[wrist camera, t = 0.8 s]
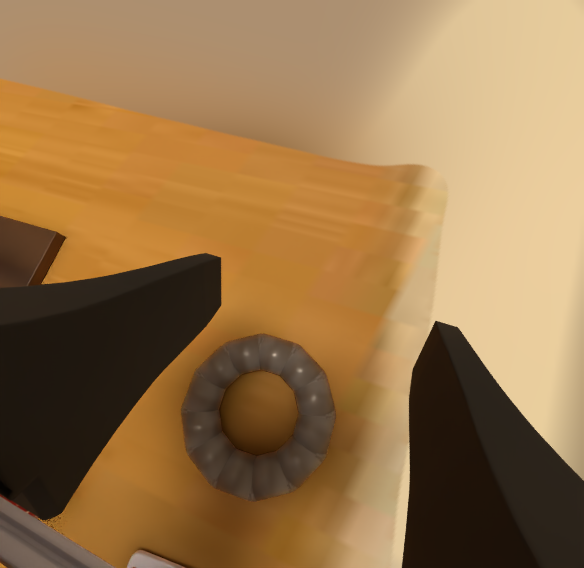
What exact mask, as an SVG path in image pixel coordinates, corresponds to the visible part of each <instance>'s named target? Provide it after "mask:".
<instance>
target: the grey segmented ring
mask: <svg viewBox="0 0 584 568" xmlns="http://www.w3.org/2000/svg"><path fill="white" fill-rule="evenodd" d="M257 370H264V371H267V372H270V373H273V374H277V375H280V376H281V377H282V378H283V380H284V381H285V382H286V383H287V384H288V385H289V386H290V387H291V389H292V390H293V391H294V394H295V398H296V403H297V407H298V412H299V414H298V418H297V421H296V425H295V429H294V432H293V435H292V436H291V437H290V438H289V439H288V440H287V441H286V442H285V443H284V444H283V445H282V446H281V447H280V448H279V449H278V450H277V451H274V452H270V453H266V454H262V455H258V456H255V455H252V454H250V453H247V452H244V451H241V450H238V449H236V448H235V447H234V445H233V444H232V443H231V442H230V440H229V439H228V438H227V437H226V435H225V434H224V433H223V432H222V425H221V419H220V412H219V408H220V405H221V402H222V399H223V396H224V393H225V390H226V388H227V387H228V386H229V385H230V384H231V383H233V382H234V381H235V380H236V379H237V378H238V377H239V376H240V375H241V374H244V373H248V372H252V371H257ZM181 416H182V424H183V432H184V440H185V448H186V452H187V454H188V456H189V457H190V459H191V460H192V461H193V463H194V464H195V465H196V467H197V468H198V470H199V471H200V472H201V474H202V475H203V476H204V478H205V479H206V480H207V482H208V483H209V484H210V485H211V486H212V487H213V488H215V489H217V490H220V491H222V492H225V493H228V494H231V495H233V496H236V497H239V498H241V499H244V500H247V501H251V502H256V501H260V500H264V499H268V498H272V497H276V496H280V495H284V494H287V493H291V492H293V491H295V490H296V489H298V488H299V487H300V486H301V485H302V483H303V482H304V481H305V480H306V479H307V478H308V477H309V476H310V475H311V474H312V473H313V472H314V471H315V470H316V469H317V467H318V466H319V465H320V464H321V463H322V462H323V461H324V459H325V458H326V455H327V452H328V448H329V444H330V440H331V436H332V432H333V427H334V423H335V419H336V411H335V406H334V403H333V399H332V395H331V391H330V387H329V383H328V379H327V376H326V374H325V372H324V371H323V369H322V368H321V367H320V366H319V365H318V364H317V363H316V362H315V361H314V360H313V359H312V358H311V357H310V356H309V354H308V353H307V352H306V351H305V350H304V349H303V348H302V347H301V346H300V345H298V344H296V343H293V342H290V341H287V340H284V339H280V338H277V337H274V336H270V335H267V334H257V335H253V336H249V337H244V338H240V339H236V340H232V341H228V342H226V343H224V344H223V345H222V346H220V347H219V348H218V349H217V350H216V351H215V352H214V353H213V354H212V355H211V356H209V357H208V358H207V359H206V360H205V361H204V362H203V363H202V364H201V365H200V366H199V367H198V368H197V369H196V370H195V372H194V375H193V377H192V380H191V383H190V385H189V388H188V391H187V394H186V396H185V399H184V402H183V404H182V408H181Z"/></svg>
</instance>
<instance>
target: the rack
mask: <svg viewBox="0 0 584 568" xmlns="http://www.w3.org/2000/svg"><path fill="white" fill-rule="evenodd" d="M64 239H65V237H64V236H63V235H61V234H59V233H57V232H55V231H51V230H48V229H44V228H41V227H37V226H34V225H30V224H27V223H23V222H20V221H16V220H13V219H9V218H6V217H2V216H0V288H5V287H22V286H34V285H40V284H41V282H42V280H43V278H44V276H45V274H46V273H47V271H48V269H49V267H50V265H51V263H52V261H53V259H54V258H55V256H56V254H57V252H58V250H59V248H60V246H61V245H62V243H63V241H64Z"/></svg>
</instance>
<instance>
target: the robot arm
mask: <svg viewBox="0 0 584 568" xmlns="http://www.w3.org/2000/svg"><path fill="white" fill-rule="evenodd" d="M220 306H221V258H220V257H217V256H214V255H210V254H207V253H204V254H198V255H193V256H188V257H184V258H180V259H176V260H172V261H168V262H164V263H161V264H157V265H153V266H149V267H145V268H140V269H136V270H132V271H127V272H123V273H118V274H114V275H109V276H104V277H98V278H92V279H85V280H79V281H72V282H64V283H54V284H44V285H34V286H22V287H5V288H0V495H2V496H3V497H5V498H6V499H8V500H10V501H13V502H14V503H16V504H18V505H19V506H21V507H22V508H24V509H26V510H27V511H29V512H31V513H32V514H34V515H35V516H37V517H39V518H40V519H42V520H48V519H50V518H53V517H55V516H57V515H59V514H61V513H62V512H63V510H64V508H65V507H66V505H67V503H68V502H69V500H70V499H71V497H72V495H73V494H74V492H75V491H76V489H77V488H78V486H79V485H80V483H81V481H82V480H83V478H84V477H85V475H86V474H87V472H88V471H89V469H90V467H91V466H92V464H93V463H94V461H95V460H96V459H97V457H98V456H99V454H100V453H101V451H102V450H103V448H104V447H105V446H106V444H107V443H108V441H109V440H110V438H111V437H112V435H113V434H114V433H115V431H116V430H117V428H118V427H119V426H120V424H121V423H122V422H123V420H124V419H125V418H126V416H127V415H128V414H129V412H130V411H131V410H132V408H133V407H134V406H135V404H136V403H137V402H138V401H139V399H140V398H141V397H142V395H143V394H144V393H145V392H146V390H147V389H148V388H149V387H150V385H151V384H152V383H153V382H154V380H155V379H156V378H157V377H158V376H159V375H160V374H161V373H162V371H163V370H164V369H165V368H166V367H167V366H168V365H169V364H170V363H171V362H172V361H173V360H174V359H175V358H176V357H177V356H178V355H179V354H180V353H181V352H182V351H183V350H184V349H185V348H186V347H187V346H188V345H189V344H190V343H191V342H192V341H193V340H194V338H195V337H196V336H197V335H198V334H199V333H200V332H201V331H202V330H203V329H204V328H205V327H206V326H207V324H208V323H209V322H210V320H211V319H212V318H213V316H214V315H215V313H216V312H217V310H218V309H219V308H220ZM409 443H410V487H409V501H408V511H407V523H406V533H405V543H404V552H403V562H402V568H584V481H583V480H582V479H581V478H580V477H579V476H578V475H577V474H576V473H575V472H574V471H573V470H572V469H571V468H570V467H569V466H568V464H567V463H565V461H564V460H563V459H562V458H561V457H560V456H559V455H558V454H557V453H556V452H555V451H554V449H553V448H552V447H551V446H550V445H549V444H548V443H547V442H546V441H545V440H544V439H543V438H542V437H541V435H540V434H539V433H538V432H537V431H536V430H535V429H534V428H533V427H532V425H531V424H530V423H529V422H528V421H527V419H526V418H525V417H524V416H523V415H522V414H521V412H520V411H519V410H518V408H517V407H516V406H515V405H514V404H513V403H512V401H511V400H510V399H509V397H508V396H507V395H506V394H505V392H504V391H503V390H502V389H501V387H500V386H499V384H498V383H497V382H496V380H495V379H494V378H493V376H492V375H491V374H490V372H489V371H488V370H487V368H486V367H485V365H484V364H483V363H482V361H481V360H480V358H479V357H478V355H477V354H476V353H475V351H474V350H473V348H472V347H471V345H470V344H469V342H468V341H467V339H466V338H465V337H464V335H463V334H462V332H461V331H460V330H459V328H458V327H454V326H451V325H448V324H445V323H441V322H438V321H435V323H434V325H433V327H432V330H431V332H430V334H429V336H428V338H427V340H426V342H425V344H424V347H423V349H422V351H421V353H420V355H419V357H418V359H417V361H416V363H415V366H414V368H413V371H412V379H411V387H410V395H409ZM0 563H1V564H3V565H4V566H6V567H7V568H115V567H113V566H112V565H110V564H109V563H107V562H105V561H104V560H102V559H100V558H99V557H97V556H96V555H94V554H92V553H91V552H89V551H88V550H86V549H84V548H83V547H81V546H79V545H78V544H76V543H75V542H73V541H71V540H70V539H68V538H67V537H65V536H63V535H62V534H60V533H58V532H57V531H55V530H54V529H52V528H50V527H49V526H47V525H46V524H44V523H42V522H41V521H39V520H38V519H36V518H34V517H33V516H31V515H29V514H28V513H26V512H25V511H23V510H21V509H20V508H18V507H17V506H15V505H13V504H12V503H10V502H8V501H7V500H5V499H4V498H2V497H0ZM133 567H136V568H186V567H183V566H181V565H178V564H176V563H173V562H171V561H168V560H166V559H163V558H161V557H158V556H156V555H153V554H151V553H148V552H146V551H143V550H138V551H136V552H135V553H134V554H133V555H132V556H131V558H130V560H129V563H128V566H127V568H133Z"/></svg>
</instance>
